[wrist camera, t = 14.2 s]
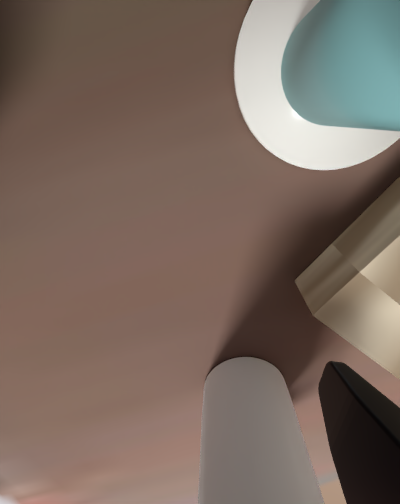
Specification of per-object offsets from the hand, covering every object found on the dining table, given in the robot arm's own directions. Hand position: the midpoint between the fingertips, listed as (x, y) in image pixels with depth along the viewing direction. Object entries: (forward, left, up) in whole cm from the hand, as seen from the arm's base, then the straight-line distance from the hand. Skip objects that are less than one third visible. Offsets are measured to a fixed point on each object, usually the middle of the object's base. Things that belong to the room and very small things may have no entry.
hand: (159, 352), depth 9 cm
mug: (+13, -9, -12) cm, 20 cm away
